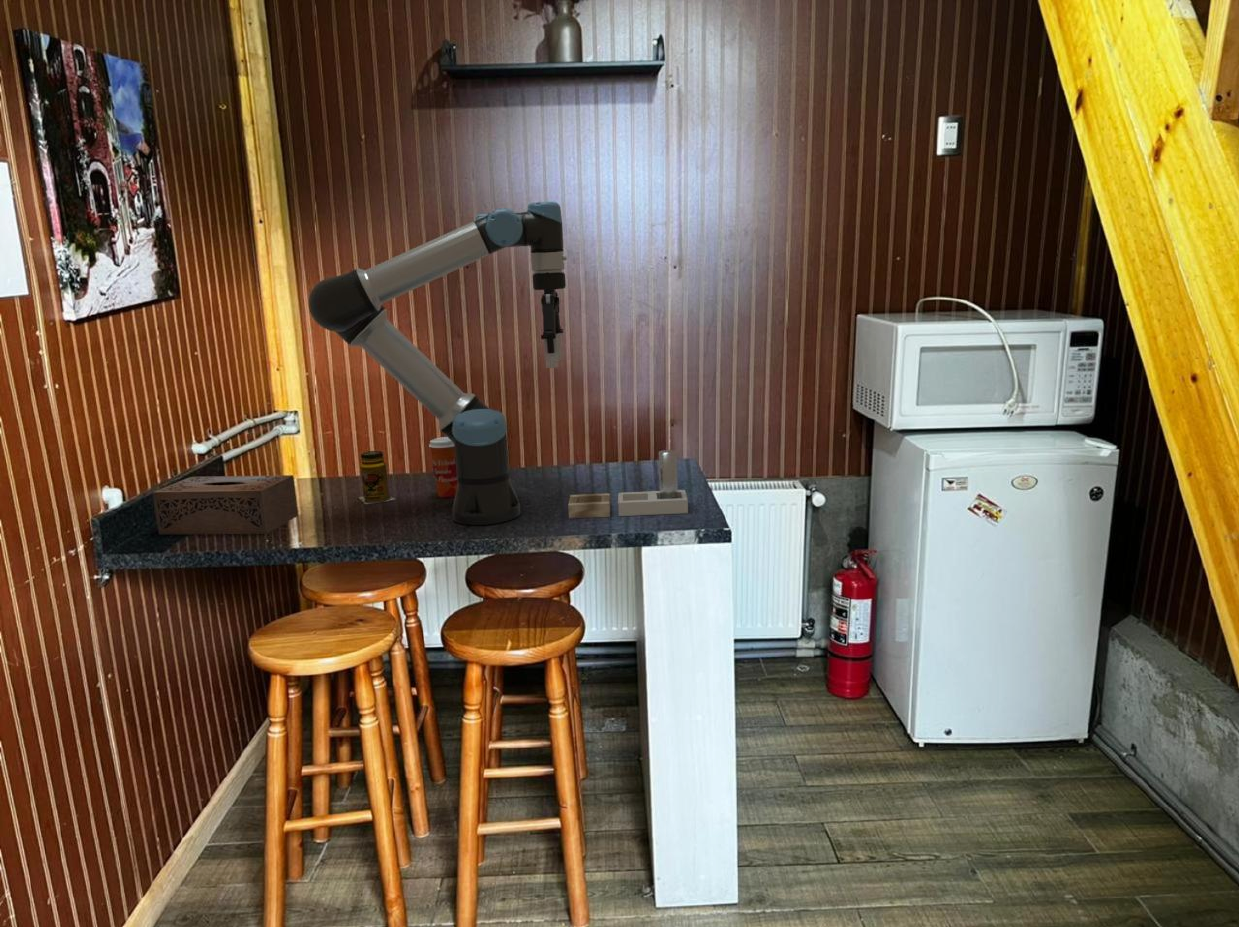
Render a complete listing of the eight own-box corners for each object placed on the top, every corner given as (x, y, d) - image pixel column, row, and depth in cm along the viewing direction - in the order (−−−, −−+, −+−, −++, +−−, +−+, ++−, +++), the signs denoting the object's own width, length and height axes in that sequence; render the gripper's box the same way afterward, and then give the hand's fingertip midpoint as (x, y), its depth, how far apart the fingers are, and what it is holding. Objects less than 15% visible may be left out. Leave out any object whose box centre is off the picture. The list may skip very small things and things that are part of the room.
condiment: (365, 505, 219) (360, 456, 216) (358, 498, 226) (353, 451, 224) (395, 500, 222) (390, 452, 219) (387, 493, 229) (382, 447, 227)
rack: (618, 516, 199) (618, 503, 198) (618, 505, 207) (618, 492, 207) (688, 513, 198) (687, 499, 198) (685, 502, 207) (684, 489, 207)
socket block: (568, 518, 199) (568, 505, 198) (571, 507, 207) (570, 495, 207) (609, 516, 199) (609, 503, 198) (610, 505, 207) (609, 493, 207)
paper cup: (428, 498, 222) (422, 442, 219) (441, 490, 230) (436, 436, 227) (457, 498, 220) (452, 442, 217) (470, 491, 228) (465, 436, 225)
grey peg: (666, 511, 200) (664, 454, 197) (657, 508, 204) (655, 451, 201) (681, 508, 202) (680, 451, 199) (672, 505, 206) (670, 449, 203)
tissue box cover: (298, 516, 212) (293, 475, 210) (267, 534, 198) (260, 490, 196) (197, 517, 216) (190, 476, 214) (159, 535, 202) (152, 492, 200)
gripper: (561, 271, 196) (567, 369, 200) (568, 270, 220) (573, 358, 225) (526, 273, 196) (533, 371, 200) (537, 272, 220) (542, 359, 225)
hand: (554, 364), depth 212 cm, fingers open, 13 cm apart
